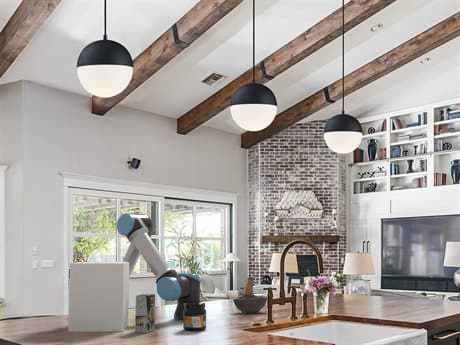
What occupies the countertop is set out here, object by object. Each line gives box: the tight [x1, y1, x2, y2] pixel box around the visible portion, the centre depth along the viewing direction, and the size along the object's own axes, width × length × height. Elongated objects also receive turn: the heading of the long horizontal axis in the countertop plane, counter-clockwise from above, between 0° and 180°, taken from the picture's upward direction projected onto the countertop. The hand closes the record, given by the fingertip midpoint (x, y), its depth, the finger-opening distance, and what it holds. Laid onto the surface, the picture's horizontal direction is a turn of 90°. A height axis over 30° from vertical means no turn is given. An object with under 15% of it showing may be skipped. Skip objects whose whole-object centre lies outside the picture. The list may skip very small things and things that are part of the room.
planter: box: [232, 276, 268, 314], centre depth 352 cm, size 15×17×20 cm
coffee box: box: [134, 293, 156, 334], centre depth 278 cm, size 9×6×16 cm
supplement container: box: [182, 301, 207, 332], centre depth 283 cm, size 10×10×12 cm
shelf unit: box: [67, 261, 130, 333], centre depth 289 cm, size 24×21×30 cm
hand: (104, 272), depth 305 cm, fingers closed on slate carton, 4 cm apart
